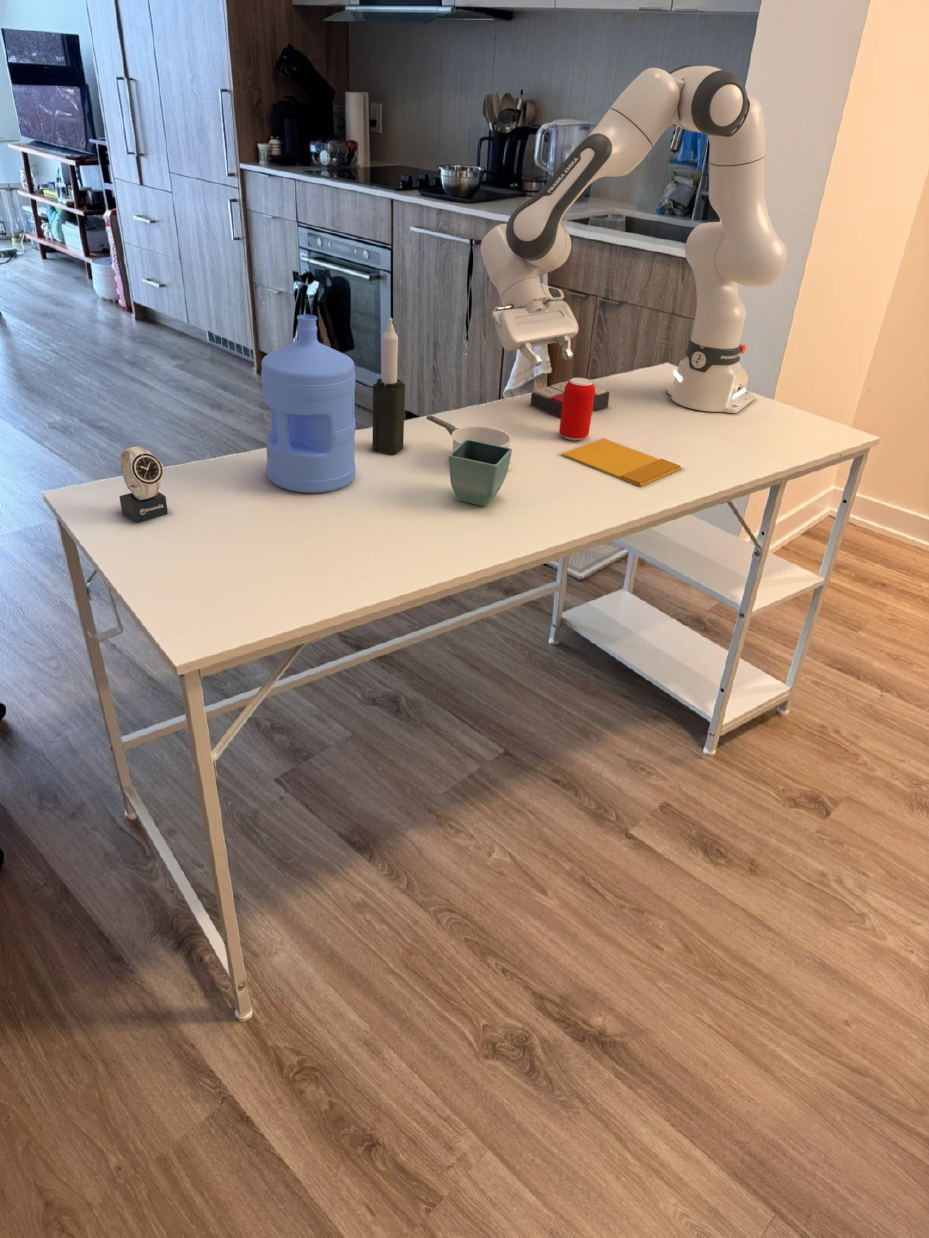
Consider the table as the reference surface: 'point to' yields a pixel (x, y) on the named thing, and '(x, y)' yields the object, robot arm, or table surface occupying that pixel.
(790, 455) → the table surface
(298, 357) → the water jug
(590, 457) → the cloth
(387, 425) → the candle
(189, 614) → the table surface
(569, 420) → the beverage can
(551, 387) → the calculator
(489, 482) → the flower pot
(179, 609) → the table surface
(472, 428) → the saucepan
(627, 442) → the table surface
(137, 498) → the watch
